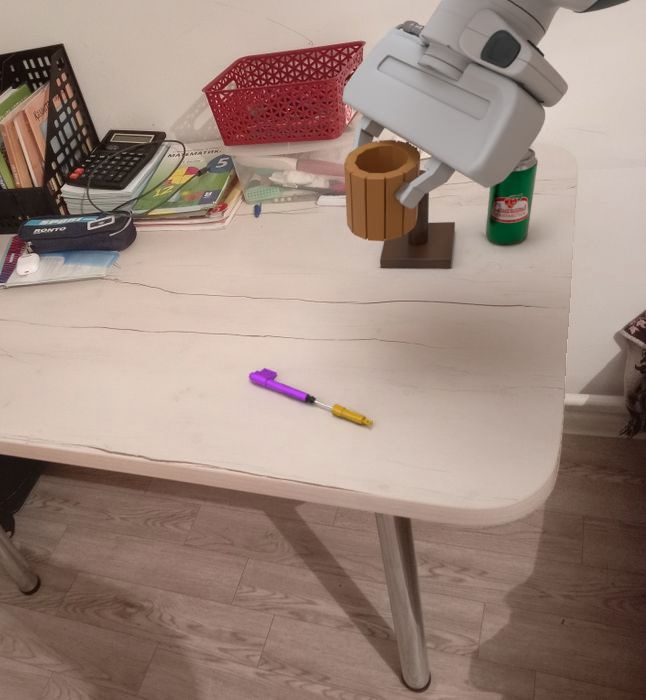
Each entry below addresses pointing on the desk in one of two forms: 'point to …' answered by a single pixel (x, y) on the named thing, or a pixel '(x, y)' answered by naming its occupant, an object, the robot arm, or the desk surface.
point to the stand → (421, 243)
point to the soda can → (512, 203)
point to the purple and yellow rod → (303, 395)
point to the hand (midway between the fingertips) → (376, 185)
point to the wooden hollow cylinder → (380, 189)
